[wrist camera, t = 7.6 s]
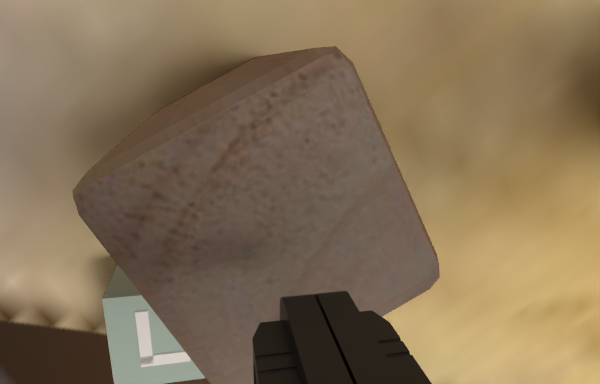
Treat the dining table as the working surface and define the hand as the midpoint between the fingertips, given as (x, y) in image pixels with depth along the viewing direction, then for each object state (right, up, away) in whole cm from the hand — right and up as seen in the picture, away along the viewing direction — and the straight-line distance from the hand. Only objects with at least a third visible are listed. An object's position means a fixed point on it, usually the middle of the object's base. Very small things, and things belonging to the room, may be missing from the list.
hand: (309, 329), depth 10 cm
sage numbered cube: (-11, -5, +26) cm, 28 cm away
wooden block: (-5, +7, +23) cm, 25 cm away
